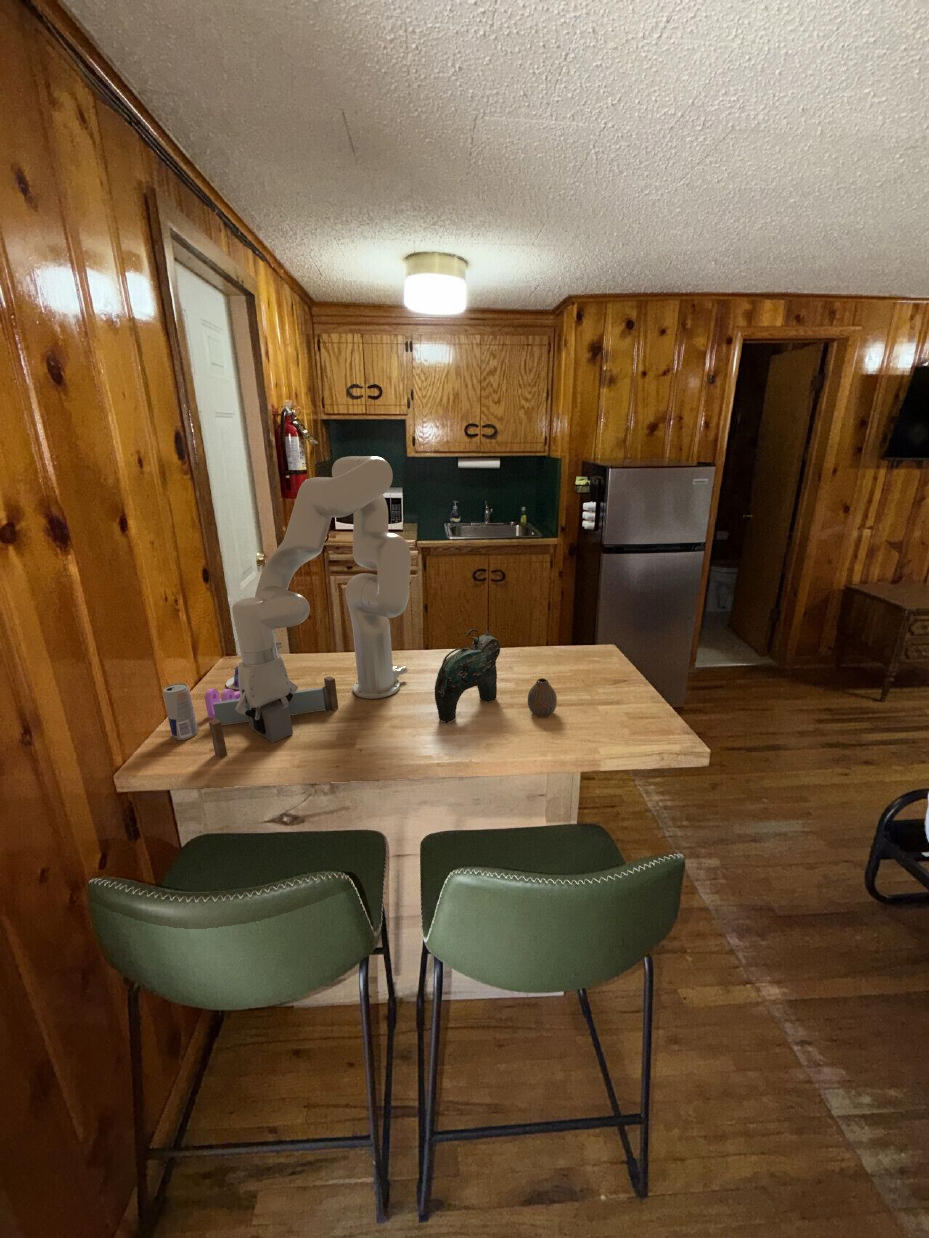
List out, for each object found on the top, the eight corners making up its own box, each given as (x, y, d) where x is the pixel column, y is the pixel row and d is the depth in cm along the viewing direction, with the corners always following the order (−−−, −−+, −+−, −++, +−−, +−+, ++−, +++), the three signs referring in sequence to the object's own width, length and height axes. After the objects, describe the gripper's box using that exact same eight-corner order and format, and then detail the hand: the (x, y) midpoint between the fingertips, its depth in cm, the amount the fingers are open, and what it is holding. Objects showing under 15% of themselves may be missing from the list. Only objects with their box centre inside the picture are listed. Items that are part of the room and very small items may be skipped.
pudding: (251, 671, 160) (249, 654, 159) (280, 678, 155) (278, 661, 153) (216, 686, 150) (213, 669, 149) (246, 695, 145) (243, 677, 143)
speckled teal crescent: (488, 691, 142) (486, 619, 136) (506, 698, 137) (506, 624, 131) (431, 718, 129) (427, 640, 122) (450, 727, 124) (446, 646, 118)
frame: (332, 704, 137) (329, 676, 134) (338, 707, 135) (335, 678, 133) (215, 754, 116) (208, 721, 114) (219, 758, 115) (213, 724, 112)
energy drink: (178, 729, 127) (168, 683, 123) (201, 728, 127) (192, 681, 124) (168, 741, 122) (157, 693, 118) (192, 739, 122) (182, 692, 119)
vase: (558, 709, 131) (559, 676, 129) (553, 722, 125) (554, 688, 122) (530, 705, 133) (531, 672, 131) (524, 718, 127) (524, 684, 125)
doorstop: (269, 718, 131) (264, 692, 128) (293, 733, 123) (288, 706, 121) (250, 727, 127) (244, 700, 125) (272, 742, 120) (267, 714, 118)
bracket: (230, 719, 132) (225, 693, 130) (208, 718, 132) (203, 693, 130) (254, 695, 144) (250, 671, 142) (234, 695, 145) (230, 671, 142)
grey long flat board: (329, 707, 135) (326, 685, 133) (329, 709, 134) (326, 687, 132) (217, 724, 129) (213, 701, 127) (217, 726, 128) (212, 703, 126)
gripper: (285, 638, 126) (297, 707, 132) (213, 662, 115) (229, 737, 120) (303, 646, 121) (314, 717, 127) (229, 671, 110) (245, 748, 116)
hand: (272, 726), depth 124 cm, fingers closed on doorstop, 5 cm apart
